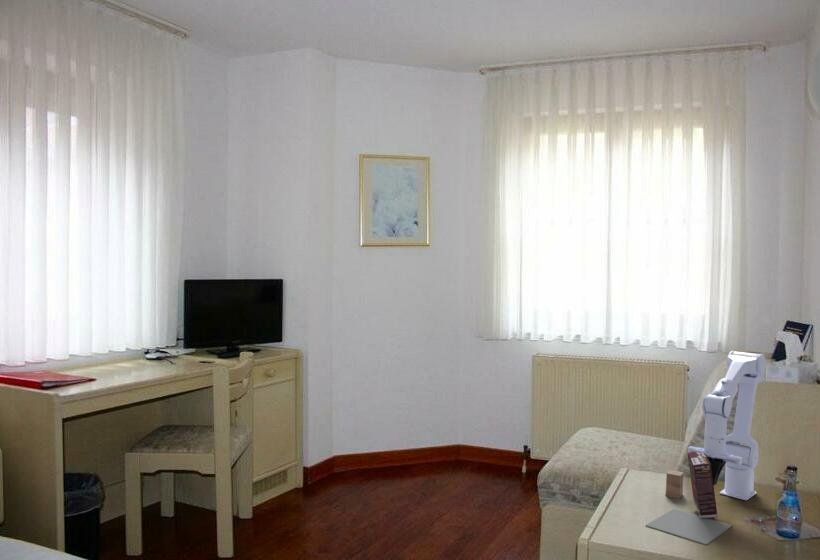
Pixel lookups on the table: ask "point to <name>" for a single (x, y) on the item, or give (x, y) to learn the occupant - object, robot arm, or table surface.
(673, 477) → the walnut block
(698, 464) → the supplement box
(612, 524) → the table surface
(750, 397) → the robot arm
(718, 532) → the mat
